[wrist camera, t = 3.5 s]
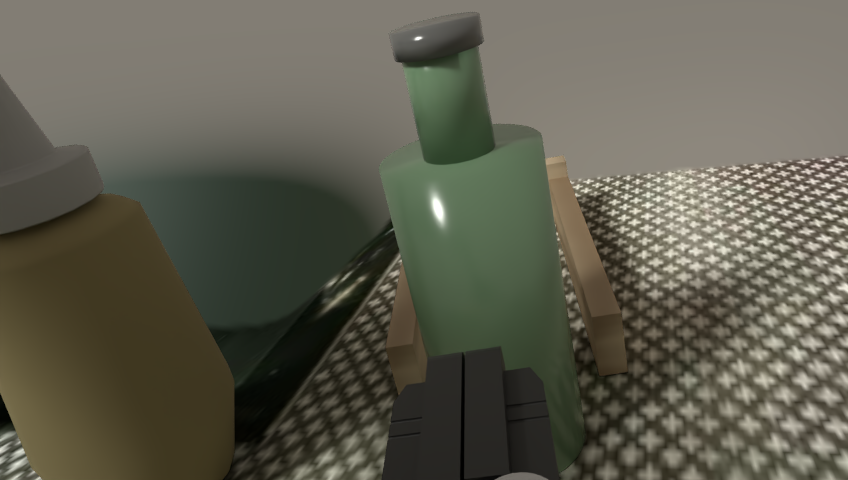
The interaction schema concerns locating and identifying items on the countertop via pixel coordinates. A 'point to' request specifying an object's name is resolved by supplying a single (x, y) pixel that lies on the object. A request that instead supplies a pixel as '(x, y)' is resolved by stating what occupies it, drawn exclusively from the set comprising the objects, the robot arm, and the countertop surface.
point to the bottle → (479, 222)
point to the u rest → (586, 279)
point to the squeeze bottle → (99, 326)
